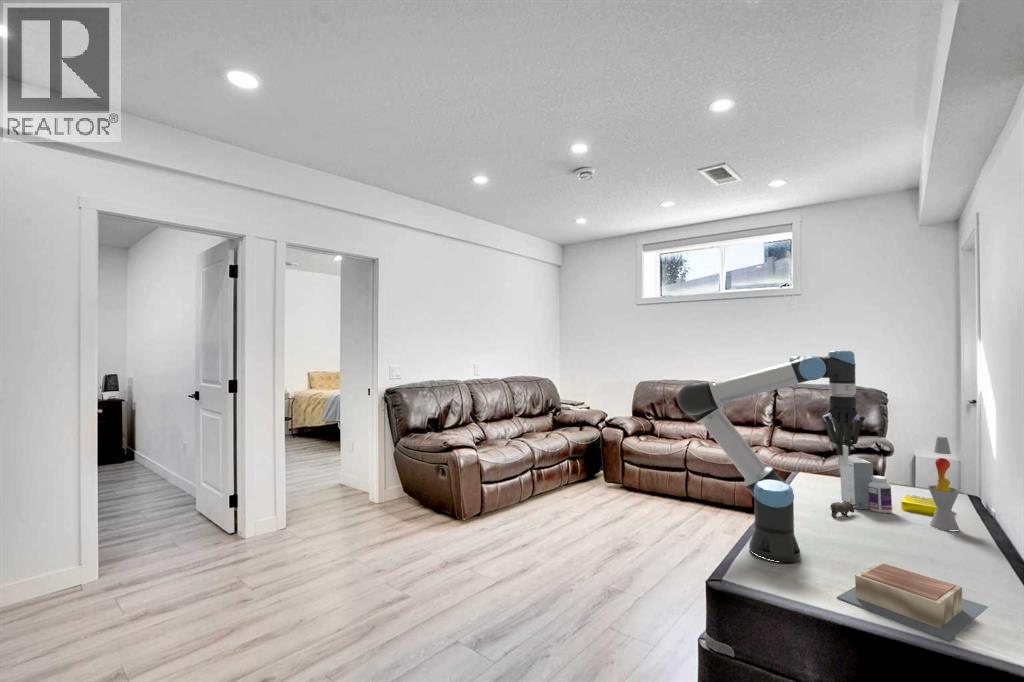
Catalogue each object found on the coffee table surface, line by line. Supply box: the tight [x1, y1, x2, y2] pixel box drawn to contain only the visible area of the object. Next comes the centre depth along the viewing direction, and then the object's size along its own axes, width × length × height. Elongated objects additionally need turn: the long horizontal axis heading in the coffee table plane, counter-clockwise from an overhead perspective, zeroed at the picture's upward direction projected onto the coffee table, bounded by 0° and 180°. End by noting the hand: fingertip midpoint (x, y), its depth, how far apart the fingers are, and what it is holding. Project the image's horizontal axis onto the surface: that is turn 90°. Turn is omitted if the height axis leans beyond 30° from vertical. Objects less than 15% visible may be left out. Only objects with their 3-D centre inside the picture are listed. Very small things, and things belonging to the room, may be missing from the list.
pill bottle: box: [868, 475, 893, 514], centre depth 208 cm, size 8×8×14 cm
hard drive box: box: [839, 456, 874, 510], centre depth 217 cm, size 16×8×20 cm, turn 165°
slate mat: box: [836, 586, 989, 642], centre depth 131 cm, size 28×24×1 cm
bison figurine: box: [830, 500, 857, 519], centre depth 202 cm, size 4×14×6 cm, turn 108°
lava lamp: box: [927, 436, 960, 531], centre depth 188 cm, size 9×9×35 cm
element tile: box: [900, 494, 937, 516], centre depth 209 cm, size 15×15×5 cm
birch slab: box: [854, 561, 963, 629], centre depth 130 cm, size 6×18×16 cm
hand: (844, 464), depth 166 cm, fingers closed
